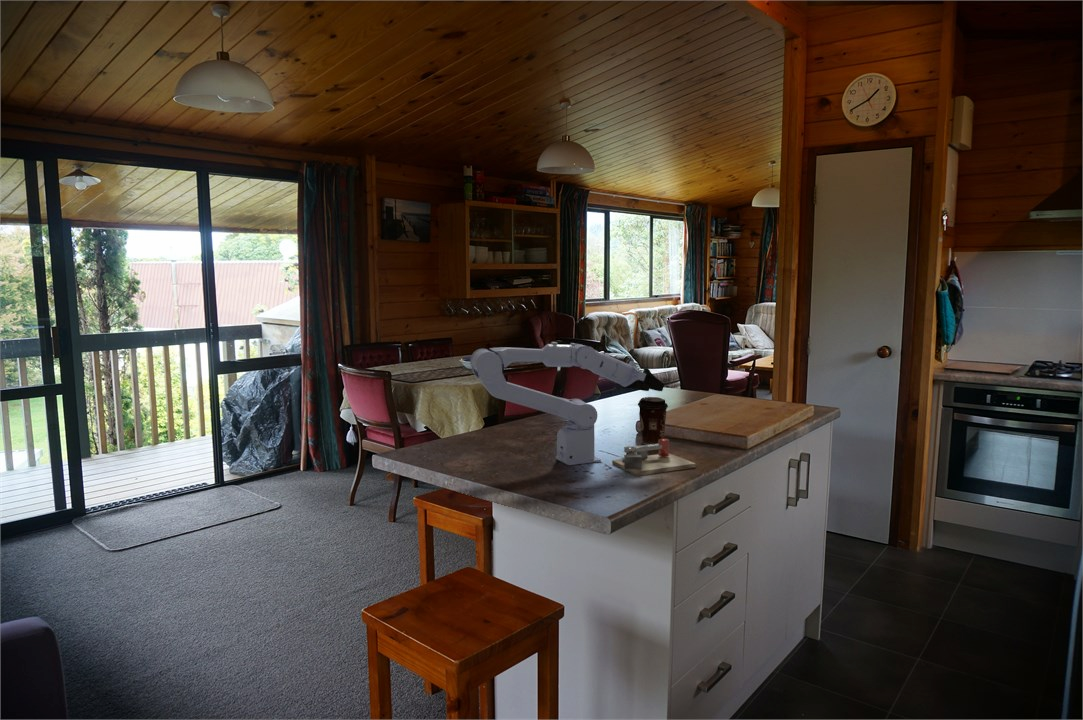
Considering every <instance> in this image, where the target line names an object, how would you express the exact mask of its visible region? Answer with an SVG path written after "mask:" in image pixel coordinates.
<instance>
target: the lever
mask: <svg viewBox="0 0 1083 720" xmlns="http://www.w3.org/2000/svg"><path fill="white" fill-rule="evenodd" d="M655 450H656V451H658V452H657V454H658V455H659V456H669V453H670V439H668V438H664V439H659V440H658V444H650V445H645V444H643V445H636V446H631V445H630V446H625V447H623V452H624V453H635V454H636V455H641V457H642V460H645V459H648V456H649V455H648V453H649V451H655Z"/></svg>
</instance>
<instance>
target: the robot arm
mask: <svg viewBox="0 0 1083 720" xmlns="http://www.w3.org/2000/svg"><path fill="white" fill-rule="evenodd" d="M469 360H470V362H469V363H470V366H471V369H472V372H473V375H474V376H475V377H476V378H477V379H478V380H479V382H480V384H481V385H482V386H483V387H484V389H485V390H487V392H488V394H489V395H490V396H492V397H494V398H496V399H498V400H503V401H505V402H510V403H513V404H516V405H519V406H523V407H526V408H530V409H532V410H533V409H534V410H536V411H540V412H543V413H547V414H551V415H553V416H557V417H560V418H562V419H565V420H567V422H566V427H564V428H560V429H559V430H558V431H557V434H556V456H555V459H556V460H557V461H560V462H561V463H563V464H565V465H567V466H575V465H576V466H577V465H581V464H582V465H583V464H591V463H599V462H601V461H602V459H600V458H598V457H597V456H595V424H596V422H597V420H598V411H597V409H596V407H595V406H593V405H592V404H590V403H587V402H585V401H583V400H582V399H580V398H571V399H568V398H564V397H560V396H555V395H552V394H548V393H545V392H542V391H538V390H535V389H532V388H528V387H525V386H522V385H519V384H515V383H512V382H508V381H506V378H505V375H504V374H503V368H507V367H509V365H511V364H512V363H522V362H523V363H526V362H529V363H530V362H532V363H533V362H542V363H543V364H544V365H545V367H548V368H549V367H552V368H554V367H556V368H571V367H579V368H580V369H582V370H589V371H591V372H592V373H593V374H594V375H598V376H600V377H602V378H604V379H607V380H609V381H611V382H614V383H616V384H619V385H620V386H621V389H633V390H639V391H644V392H649V391H650V390H652V391H657V392H663V390H664V386H665V383H664V382H662V381H661V380H660V379H659V378H657V377H656V376H655V375H654V374H653V373H652V372H651V370H650V369H649V368H648V367H645V368H643V370H642V371H641V370H639V369H638V368H637V367H636V366H635V361H633V360H630V361H629V363H626V362H625V361H622V360H620V359H617V358H615V357H612V356H611V355H608V354H606V353H604V352H599V351H598V350H596V349H594V348H593V347H592V346H588V345H585V344H584V345H583V344H580V343H574V342H570V344H558V342H557V341H551V342H550V343H547V344H546V345H544V346H543V347H542V348H526V347H510V346H509V347H507V346H505V347H503V346H500V347H489V349H487V348H479V349H476V350H475V351H473V353H472V355H471V356H470V359H469Z"/></svg>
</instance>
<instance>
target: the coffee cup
mask: <svg viewBox="0 0 1083 720" xmlns="http://www.w3.org/2000/svg"><path fill="white" fill-rule="evenodd" d="M637 406H638V408H639V413H638V414H639V415H638V416H639V425H640V427H639V428H640V432H641V436H642V437H641V438H642V439H641V442H642V444H643V445H650V444H658V440H659V439H665V432H666V420H667V408H669V405H668V404H667V403H666V400H665V399H664V398H661V397H658V396H657V397H654V396H646V397H642V398H641V397H640V400H639V401H638V402H637Z"/></svg>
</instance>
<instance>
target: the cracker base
mask: <svg viewBox="0 0 1083 720" xmlns="http://www.w3.org/2000/svg"><path fill="white" fill-rule="evenodd" d="M611 462H612V465H614V466H615V467H618V468H619V469H622V470H624V471H626V472H628V473H630V474H632V475H635V476H636V477H638V476H644V475H652V474H659V473H665V472H667V473H668V472H673V471H680V470H687V469H693V468H694V469H696V465H697V464H696V463H695V462H693V461H690V460H688V459H685V458H682V457H681V456H677V455H675V454H672V453H670V452H669V456H659V455H658V453H657V454H651V455H648V459H645V460H642V457H641V455H637V453H636V452H635V453H626V454H624V456H623V458H619V459H612V460H611Z"/></svg>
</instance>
